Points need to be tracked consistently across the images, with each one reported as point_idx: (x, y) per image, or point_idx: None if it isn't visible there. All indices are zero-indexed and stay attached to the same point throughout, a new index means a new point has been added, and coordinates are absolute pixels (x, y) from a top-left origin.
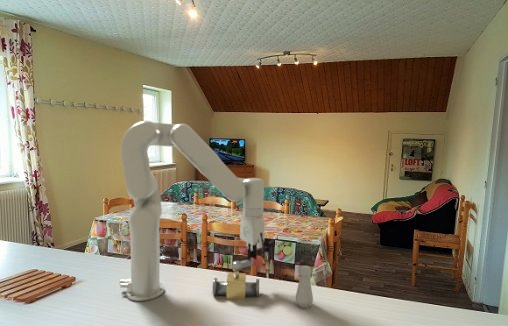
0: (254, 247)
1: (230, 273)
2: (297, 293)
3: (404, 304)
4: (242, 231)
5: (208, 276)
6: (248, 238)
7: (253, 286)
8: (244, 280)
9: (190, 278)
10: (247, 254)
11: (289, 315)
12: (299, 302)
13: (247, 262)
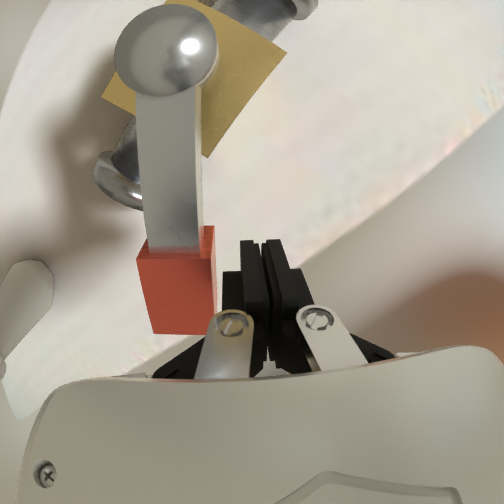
0: (167, 367)
1: (268, 60)
2: (15, 281)
3: (41, 402)
4: (495, 483)
5: (433, 89)
6: (214, 476)
7: (119, 151)
8: (113, 96)
9: (449, 29)
10: (287, 264)
11: (3, 202)
12: (16, 263)
13: (141, 172)
